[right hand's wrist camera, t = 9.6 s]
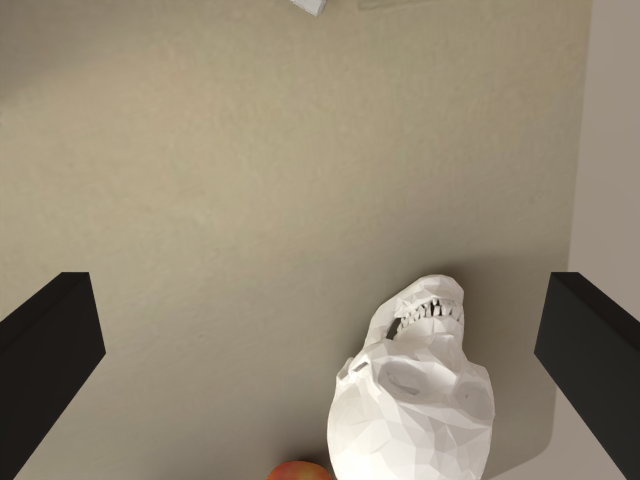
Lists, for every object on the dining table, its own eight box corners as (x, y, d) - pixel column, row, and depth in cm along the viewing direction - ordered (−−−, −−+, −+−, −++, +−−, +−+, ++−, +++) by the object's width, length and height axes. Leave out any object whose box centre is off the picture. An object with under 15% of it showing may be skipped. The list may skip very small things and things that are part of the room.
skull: (498, 280, 45) (579, 385, 30) (425, 441, 53) (460, 587, 38) (371, 247, 44) (389, 339, 29) (316, 416, 52) (308, 555, 37)
